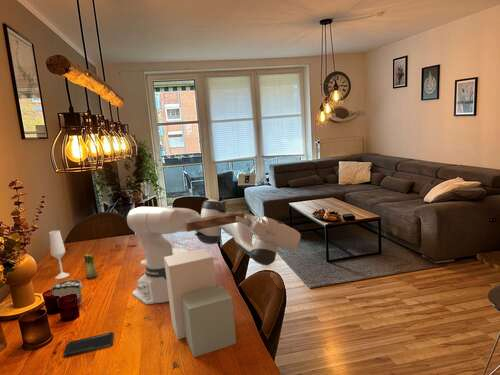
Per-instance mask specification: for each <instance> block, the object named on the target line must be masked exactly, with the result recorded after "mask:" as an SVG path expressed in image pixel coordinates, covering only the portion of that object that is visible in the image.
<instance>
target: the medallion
mask: <svg viewBox="0 0 500 375" xmlns="http://www.w3.org/2000/svg"><path fill="white" fill-rule="evenodd" d="M172 252H173V255H176V254H181V253H186V252H190V250H189V249H187V248H184V247H172ZM140 265H147V262H146V259H143V260H141V261H140Z"/></svg>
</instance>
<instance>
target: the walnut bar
mask: <svg viewBox="0 0 500 375" xmlns="http://www.w3.org/2000/svg"><path fill="white" fill-rule="evenodd" d="M226 213H227V212H226ZM244 214H245V212H243V211H242V210H239V211H233V212H229V213H227V214H221V215H215V216H210V217H204V218H198V219H193V220H187V221H184V224H185V230H186V232H189V233H190V232H196V231H195V230H200V229H205V228H210V227H216V226H221V225H226V224H231V223H237V221H235V220H234V218H235V216H239V217H242V218H245V215H244Z"/></svg>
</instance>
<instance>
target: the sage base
mask: <svg viewBox="0 0 500 375" xmlns="http://www.w3.org/2000/svg"><path fill="white" fill-rule="evenodd" d="M181 298H182V306H183V315H184V323H185V332H186V337H185V339H186V342H187V345H188V347H189V350H190V352H191V354H192V356H193V358H197V357H199V356H202V355H205V354H208V353H212V352H215V351H218V350H221V349H224V348H227V347H231V346H233V345H237V337H236V336H237V335H236V326H235V317H234V316H235V314H234V313H235V312H234V305H233V297H232V295H230V293H229V292H228V290H227V289H226V288H225V287H224V286H223V285H218V286H216V287H214V288H210V289H206V290H202V291H198V292H194V293H190V294H186V295H182V296H181Z"/></svg>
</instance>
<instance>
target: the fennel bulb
mask: <svg viewBox="0 0 500 375" xmlns="http://www.w3.org/2000/svg"><path fill="white" fill-rule="evenodd" d="M83 258H84V266H85V272H86V277H87V278H88V279H94V278H96V277H97V275H98V271H97V269H96V267H95V263H94V256H93V255H92V254H84V255H83Z"/></svg>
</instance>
